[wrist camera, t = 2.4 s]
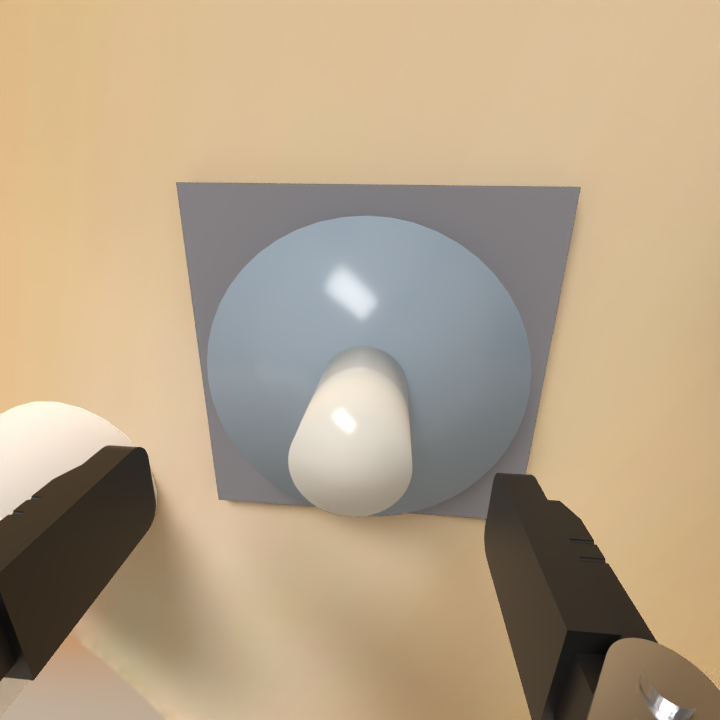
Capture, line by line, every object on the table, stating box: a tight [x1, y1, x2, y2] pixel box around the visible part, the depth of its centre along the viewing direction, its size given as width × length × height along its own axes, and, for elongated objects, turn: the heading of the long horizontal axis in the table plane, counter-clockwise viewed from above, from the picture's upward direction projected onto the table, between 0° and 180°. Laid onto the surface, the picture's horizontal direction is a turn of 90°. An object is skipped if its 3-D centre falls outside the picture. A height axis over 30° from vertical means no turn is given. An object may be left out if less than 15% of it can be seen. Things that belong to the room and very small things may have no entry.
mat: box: [176, 182, 581, 519], centre depth 17 cm, size 14×14×1 cm
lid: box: [207, 215, 531, 517], centre depth 13 cm, size 12×12×6 cm
